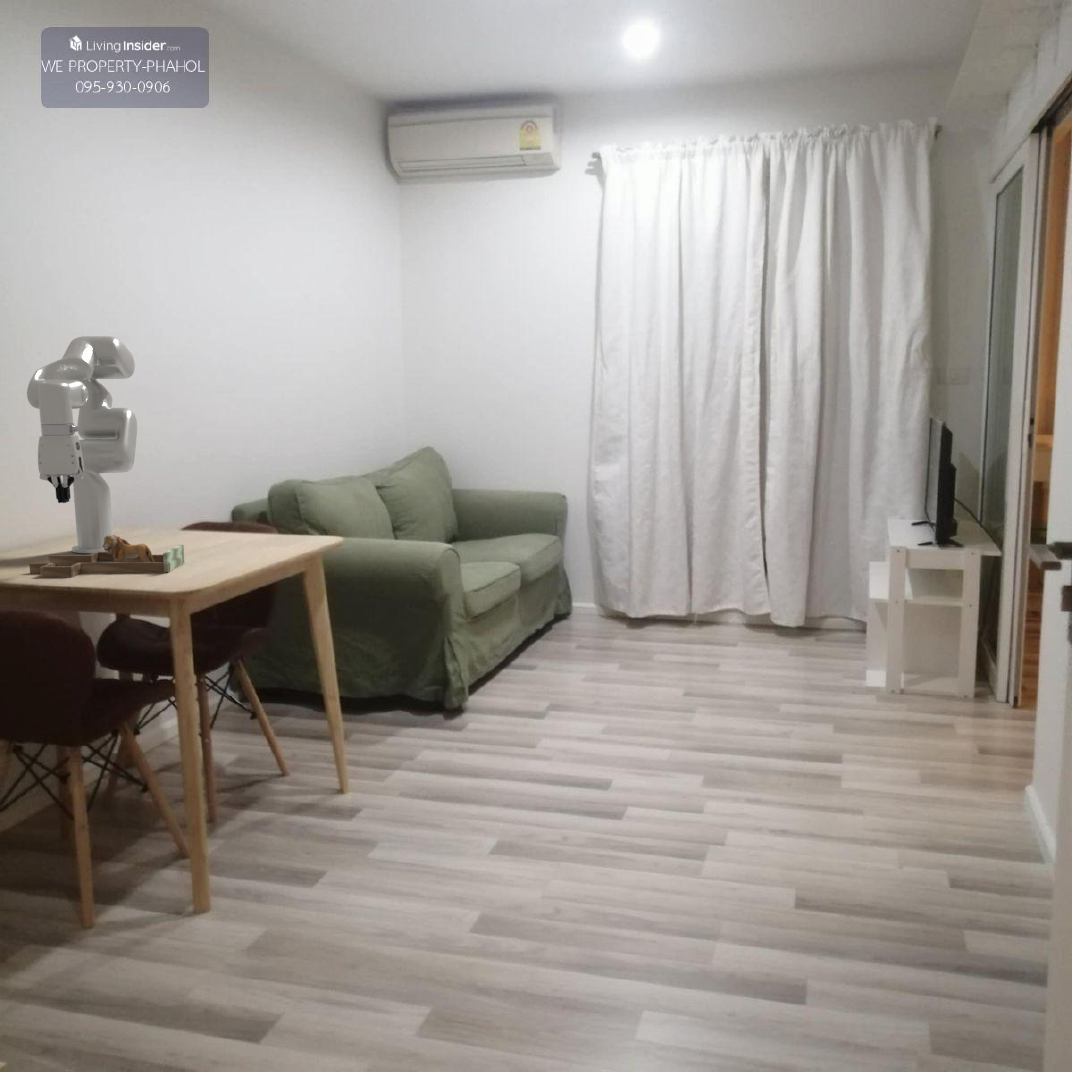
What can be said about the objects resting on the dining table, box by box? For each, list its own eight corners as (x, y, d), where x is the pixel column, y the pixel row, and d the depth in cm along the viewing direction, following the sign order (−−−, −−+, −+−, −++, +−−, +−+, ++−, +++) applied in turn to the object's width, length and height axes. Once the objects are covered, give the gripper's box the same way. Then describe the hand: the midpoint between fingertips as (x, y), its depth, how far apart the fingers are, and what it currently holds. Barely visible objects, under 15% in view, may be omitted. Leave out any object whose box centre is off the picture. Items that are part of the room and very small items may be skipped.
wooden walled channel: (59, 561, 279) (58, 542, 279) (189, 560, 280) (188, 542, 279) (20, 577, 258) (19, 557, 257) (162, 576, 258) (160, 556, 257)
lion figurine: (100, 571, 266) (98, 536, 264) (110, 567, 271) (107, 533, 269) (157, 571, 265) (155, 536, 264) (165, 567, 270) (163, 533, 269)
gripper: (93, 429, 267) (98, 500, 270) (34, 429, 267) (41, 500, 270) (81, 432, 260) (87, 504, 263) (21, 432, 259) (27, 504, 263)
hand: (63, 502), depth 267 cm, fingers closed
